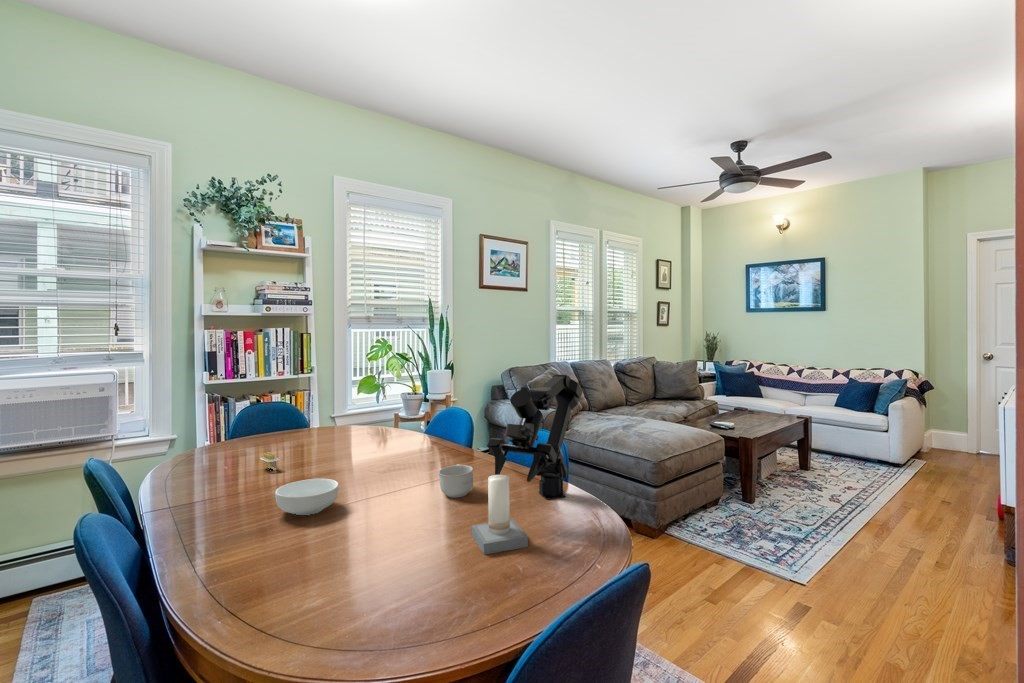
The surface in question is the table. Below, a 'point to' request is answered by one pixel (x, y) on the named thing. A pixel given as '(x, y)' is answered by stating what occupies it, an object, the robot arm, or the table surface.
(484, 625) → the table surface
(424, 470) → the table surface
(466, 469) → the teacup
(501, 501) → the white cylinder
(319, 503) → the cereal bowl
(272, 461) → the yellow and grey piece
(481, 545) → the base
